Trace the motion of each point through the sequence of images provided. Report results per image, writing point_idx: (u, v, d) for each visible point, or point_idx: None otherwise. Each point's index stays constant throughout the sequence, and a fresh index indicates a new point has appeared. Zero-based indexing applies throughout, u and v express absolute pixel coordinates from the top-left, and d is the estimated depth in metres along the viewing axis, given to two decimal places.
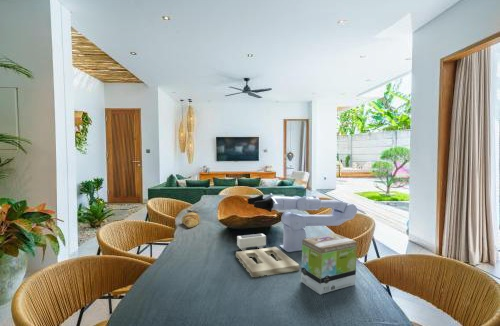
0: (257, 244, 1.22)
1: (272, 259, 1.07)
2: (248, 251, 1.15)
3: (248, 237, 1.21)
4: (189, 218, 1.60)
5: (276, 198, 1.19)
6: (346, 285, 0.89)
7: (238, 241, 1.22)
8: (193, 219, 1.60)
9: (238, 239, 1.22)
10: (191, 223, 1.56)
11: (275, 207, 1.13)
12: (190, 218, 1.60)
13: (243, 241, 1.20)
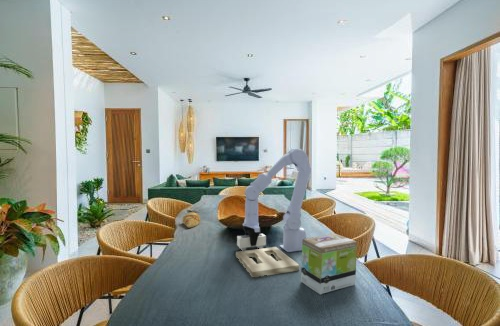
0: (257, 244, 1.22)
1: (272, 259, 1.07)
2: (248, 251, 1.15)
3: (248, 237, 1.21)
4: (189, 218, 1.60)
5: (248, 221, 1.21)
6: (346, 285, 0.89)
7: (238, 241, 1.22)
8: (193, 219, 1.60)
9: (238, 239, 1.22)
10: (191, 223, 1.56)
11: (258, 230, 1.17)
12: (190, 218, 1.60)
13: (243, 241, 1.20)
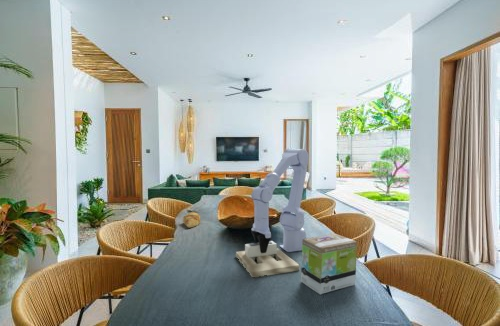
0: (267, 253, 1.11)
1: (272, 259, 1.07)
2: None
3: (257, 245, 1.11)
4: (189, 218, 1.60)
5: (257, 225, 1.10)
6: (346, 285, 0.89)
7: (246, 250, 1.11)
8: (193, 219, 1.59)
9: (246, 247, 1.11)
10: (191, 223, 1.56)
11: (269, 236, 1.06)
12: (190, 218, 1.60)
13: (251, 250, 1.09)
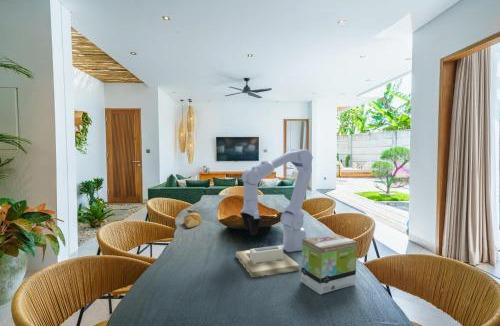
0: (273, 258, 1.06)
1: None
2: (248, 251, 1.15)
3: (263, 250, 1.05)
4: (190, 218, 1.60)
5: (246, 207, 1.13)
6: (346, 285, 0.89)
7: (251, 255, 1.05)
8: (193, 219, 1.59)
9: (251, 253, 1.05)
10: (191, 223, 1.56)
11: (258, 216, 1.09)
12: (191, 218, 1.60)
13: (257, 255, 1.04)
